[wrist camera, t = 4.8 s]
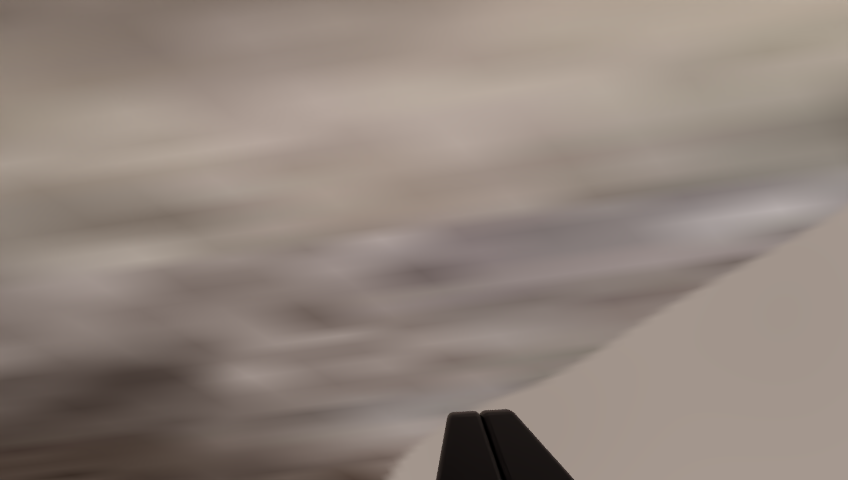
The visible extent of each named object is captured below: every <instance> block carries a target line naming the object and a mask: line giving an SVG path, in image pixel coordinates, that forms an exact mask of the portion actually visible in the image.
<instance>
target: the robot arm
mask: <svg viewBox="0 0 848 480" xmlns="http://www.w3.org/2000/svg"><path fill="white" fill-rule="evenodd" d="M436 480H574V479H573V478H572V477H571V476H570V475H569V473H568V472H567V471H566V470H565V469H564V468H563V467H562V466H561V464H560V463H559V462H558V461H557V460H556V459H555V458H554V457H553V456H552V455H551V453H550V452H549V451H548V450H547V449H546V448H545V447H544V446H543V445H542V443H541V442H540V441H539V440H538V439H537V438H536V437H535V436H534V434H533V433H532V432H531V431H530V430H529V429H528V428H527V427H526V426H525V424H524V423H523V422H522V421H521V420H520V419H519V418H518V417H517V415H515V413H514V412H512V411H510V410H507V409H502V410H485V411H482V412H481V413H480V415H479V413H477V412H476V411H467V412H452V413H450V414H449V415H448V417H447V422H446V427H445V433H444V439H443V445H442V450H441V456H440V461H439V467H438V472H437V478H436Z"/></svg>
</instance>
